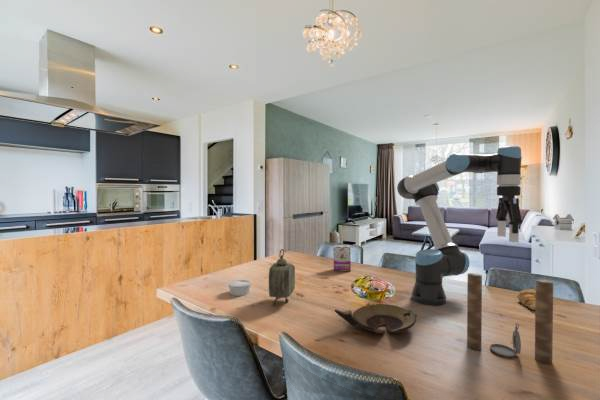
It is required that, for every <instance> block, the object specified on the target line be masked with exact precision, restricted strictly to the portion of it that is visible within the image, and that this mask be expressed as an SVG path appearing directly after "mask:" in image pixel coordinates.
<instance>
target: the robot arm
mask: <svg viewBox="0 0 600 400" xmlns="http://www.w3.org/2000/svg"><path fill="white" fill-rule="evenodd" d="M522 157H523V156H522V148H521V147H520V146H517V145H511V146H510V145H508V146H501V147H498V149H497V152H496V153H492V154H474V153H473V154H472V153H471V154H470V153H461V152H460V153H459V152H458V153H452V154H450V155H449V156H448V157H447V158H446V160H445V161H443V162H440V163H438V164H436V165H434V166H432V167H430V168H427V169H425V170H423V171H421V172H419V173H417V174H414V175H408V176H405V177H404V178H402V179H400V180H399V182H398V183H397V187H396V188H397V189H396V190H397V193H398V194H399V196H401V198H403V199H406V200H414V202H415V205H416V206H417V207H419V208H420V210H421V213H422V215H423V218H424V222H425V224H426V226H427V227H426V228H427V229H428V232H429V234H430V238H431V239H432V242H433V245H434V248H433V249H432V248H429V249H427V248H425V249H422V250H419V251H417V252H416V254H415V258H414V260H415V282H414V285H413V287H412V290H411V298H412V300H413V301H415V302H418V303H420V304H424V305H429V306H443V305H445V304H446V303H447V295H446V292H445V290H444V287H443V277H452V276H459V275H464V274H466V272H468V270H469V268H470V263H471V262H470V258H469V255H467V253H466V252H464V251H462V250H460V248H459V245H458V244H456V243H455V242H453V240H452V236H451V235H450V232H449V230H448V227H447V225H446V223H445V220H444V217H443V215H442V213H441V209H440V208H439V204H438V202H437V201H438V199H439V197H438V196H439V191H440V187H439V185H438V183H439V182H440V183H441V182H442V181H444V180H448V179H449V178H453V177H455V176H458V175H460V174H462V173H474V174H483V173H484V174H485V173H496V172H497V175H496V185H497V187H496V195H497V196H498V197H499V196H501V197H499V198H498V204H497V210H496V215H495V219H496V220H497V237H506V235H507V221H508V219H507V216H508V218H509V222H508V225H509V232H508V234H509V235H508V237H509V238H508V242H510V243H519V242H520V237H519V235H520V231H519V229H520V224H522V223H523V221H522V215H521V214H522V213H521V210H520V199H519V198H518V197H517V196H521V191H522V190H521V186H520V185H521V182H522V181H521V180H523V177H522V175H521V174H522V173H521V172H522V171H521V170H522V169H521V168H522V166H521V165H522V159H523V158H522Z"/></svg>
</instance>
